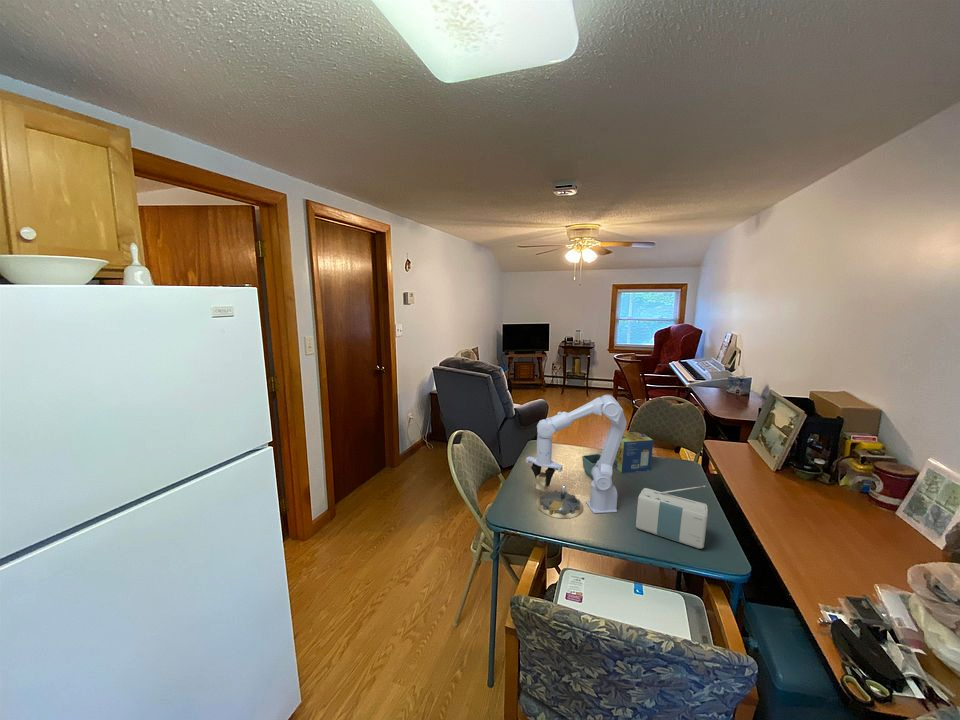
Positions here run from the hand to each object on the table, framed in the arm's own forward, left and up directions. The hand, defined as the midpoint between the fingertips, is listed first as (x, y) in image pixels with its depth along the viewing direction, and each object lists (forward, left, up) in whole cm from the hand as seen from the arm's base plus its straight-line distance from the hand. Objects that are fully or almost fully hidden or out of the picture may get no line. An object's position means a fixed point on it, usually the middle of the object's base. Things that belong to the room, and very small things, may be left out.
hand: (543, 483), depth 152 cm
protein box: (-50, -27, -9) cm, 57 cm away
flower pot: (-29, -19, -9) cm, 36 cm away
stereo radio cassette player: (-38, +24, -9) cm, 46 cm away
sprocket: (-6, +2, -8) cm, 11 cm away
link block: (0, 0, -2) cm, 2 cm away
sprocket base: (-6, +2, -8) cm, 11 cm away
